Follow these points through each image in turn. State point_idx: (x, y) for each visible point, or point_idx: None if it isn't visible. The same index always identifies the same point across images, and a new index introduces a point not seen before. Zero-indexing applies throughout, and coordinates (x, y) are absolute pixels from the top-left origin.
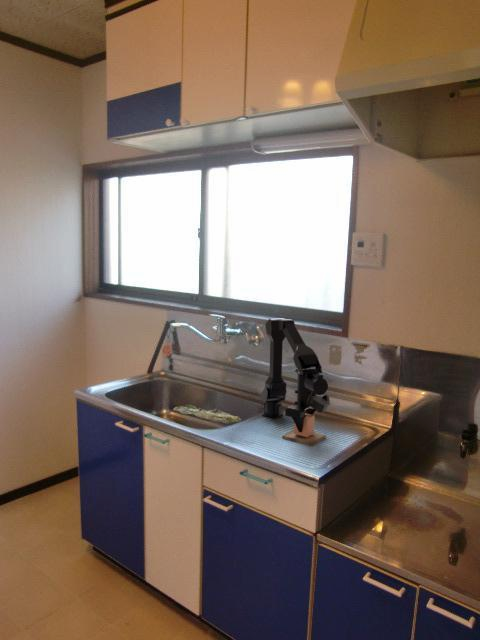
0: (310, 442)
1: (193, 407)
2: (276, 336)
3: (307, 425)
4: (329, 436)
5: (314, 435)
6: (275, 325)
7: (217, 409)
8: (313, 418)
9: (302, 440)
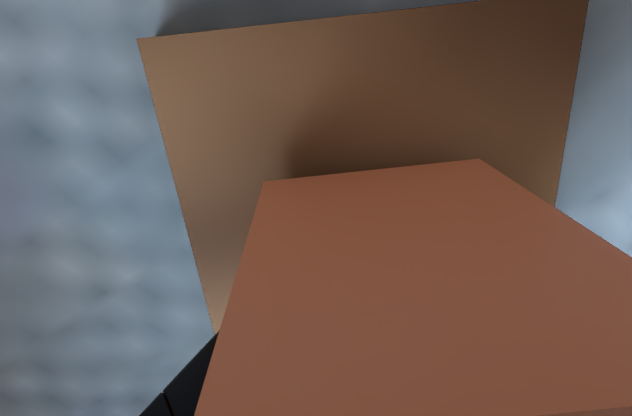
0: (575, 34)
1: None
2: None
3: (610, 246)
4: (73, 15)
5: (292, 148)
6: None
7: None
8: (288, 348)
9: (554, 165)
